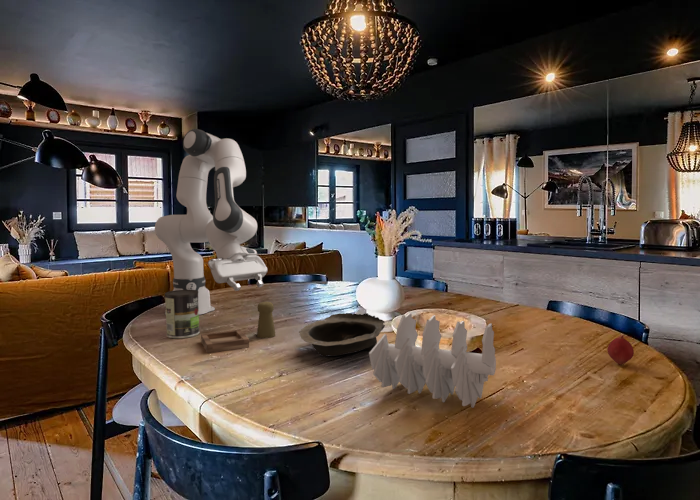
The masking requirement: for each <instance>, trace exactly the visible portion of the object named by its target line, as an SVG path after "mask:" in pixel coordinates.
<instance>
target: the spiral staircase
mask: <svg viewBox="0 0 700 500" xmlns="http://www.w3.org/2000/svg"><path fill="white" fill-rule="evenodd" d="M425 322H426V323H425V325H424V328H423V331H422V334H421V335H422V340H421V346H416V343H417V339H418V336H419V335H418V332H417V329H416V324H417V319H415V318H413V315H412V312H409V313H407V314H406V315H404V314H403V315H402V316H401V318H400V321H399V322H398V326H397V327H396V333H395V334H396V336H395V342H394V343H389V341H388V336H387V333H386V334H385V333H383V335H382V336H381V338H379V340H377V344H376V345H375V346H374V348H373V349H372V350H371V351H369V352H368V356H369V360H370V366H371V369H372V370H373V373H372V375H373V377H374V378H376V380H378V382H379V383H381V388H388V387H390V386H391V388H392V389H393V390H395V389H396V388H397V386H398V385H399V383H400V384H401V385H402V386H403V388H405V389H407V394H408V395H410V394H412V393H414V392H416V391H417V393H418V394H421V393H422V391H423V389H424V387H425V385H426V387H427V389H428V391H429V393H431V394H432V398H431V399H434V400H435V399H436V400H437V399H441V403H445V402H446V400H447V398H448V396H449V395H450V396H453V395H454V393H455V394H456V397H458V399H459V401H462V402H461V406H463V407H466V406H469V405H470V408H474V407H475V406H476V403H477V401H478V398H479V399H482V396H483V391H484V384H485V382H488V380H489V376H495V374H496V370H497V359H496V348H495V347H494V336H495V331H494V330H493V324H492V323H489V324H487V325H485V328H484V330H483V336H482V339H481V342H482V351H481V353H477V352H469V351H467V350H468V344H467V335H468V329H467V328H466V327H465V324H466V323H465V320H461V321H459V320H458V321H456V324H455V327H454V329H453V333H452V342H451V350H450V349H443V348H442V349H441V348H440V343H441V339H442V334H441V332H440V323H441V322H440V321H439V320H438V319H436V315H435V314H434V315H431V317H430V318H429V319H426V321H425Z"/></svg>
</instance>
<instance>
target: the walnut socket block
mask: <svg viewBox="0 0 700 500" xmlns="http://www.w3.org/2000/svg"><path fill="white" fill-rule="evenodd" d="M200 343H201V345H202V346H203V349H205V352H206V353H207V354H212V353H219V352H225V351H233V350H242V349H248V348H250V339H249V337H248V336H247V335H246V334H245V333H244V332H243V331H242V330H241V329H233V330H225V331H217V332H210V333H201V334H200Z"/></svg>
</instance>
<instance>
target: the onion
mask: <svg viewBox="0 0 700 500" xmlns="http://www.w3.org/2000/svg"><path fill="white" fill-rule="evenodd" d="M634 352H635V351H634V347H633V346H632V344H631V342H630V341H629V340H627V339H625V335H623V334H620V335H619V336H618V337H616V338H614V339H612V340H611V342H610V343H609V344H608V346H607V354H608V356H609V357H610V358H611V359H612V360H613V362H615V363H616V364H617V365H619V364H620V365H619V366H623V365H624V364H625V363H626V364H627V362H628V361H630V360H632V359H633V357H634V356H635V355H634ZM622 364H623V365H622Z"/></svg>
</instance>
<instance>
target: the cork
mask: <svg viewBox="0 0 700 500" xmlns="http://www.w3.org/2000/svg"><path fill="white" fill-rule="evenodd" d="M274 307H275V306H274V304H273V303H272V302H271V301H261V302H259V303H258V304H257V312H258V323H257V331H256V337H257V338H259V339H271V338H274V337H276V335H277V334H276V331H275V330H276V329H275V323H274V322H275V321H274V315H273V312H274Z"/></svg>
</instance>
